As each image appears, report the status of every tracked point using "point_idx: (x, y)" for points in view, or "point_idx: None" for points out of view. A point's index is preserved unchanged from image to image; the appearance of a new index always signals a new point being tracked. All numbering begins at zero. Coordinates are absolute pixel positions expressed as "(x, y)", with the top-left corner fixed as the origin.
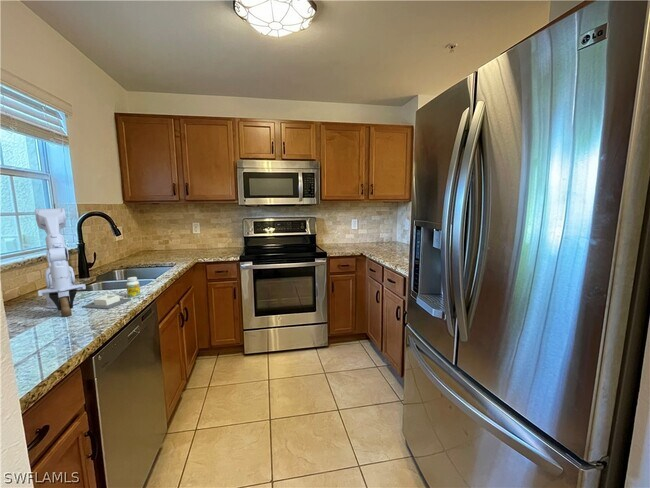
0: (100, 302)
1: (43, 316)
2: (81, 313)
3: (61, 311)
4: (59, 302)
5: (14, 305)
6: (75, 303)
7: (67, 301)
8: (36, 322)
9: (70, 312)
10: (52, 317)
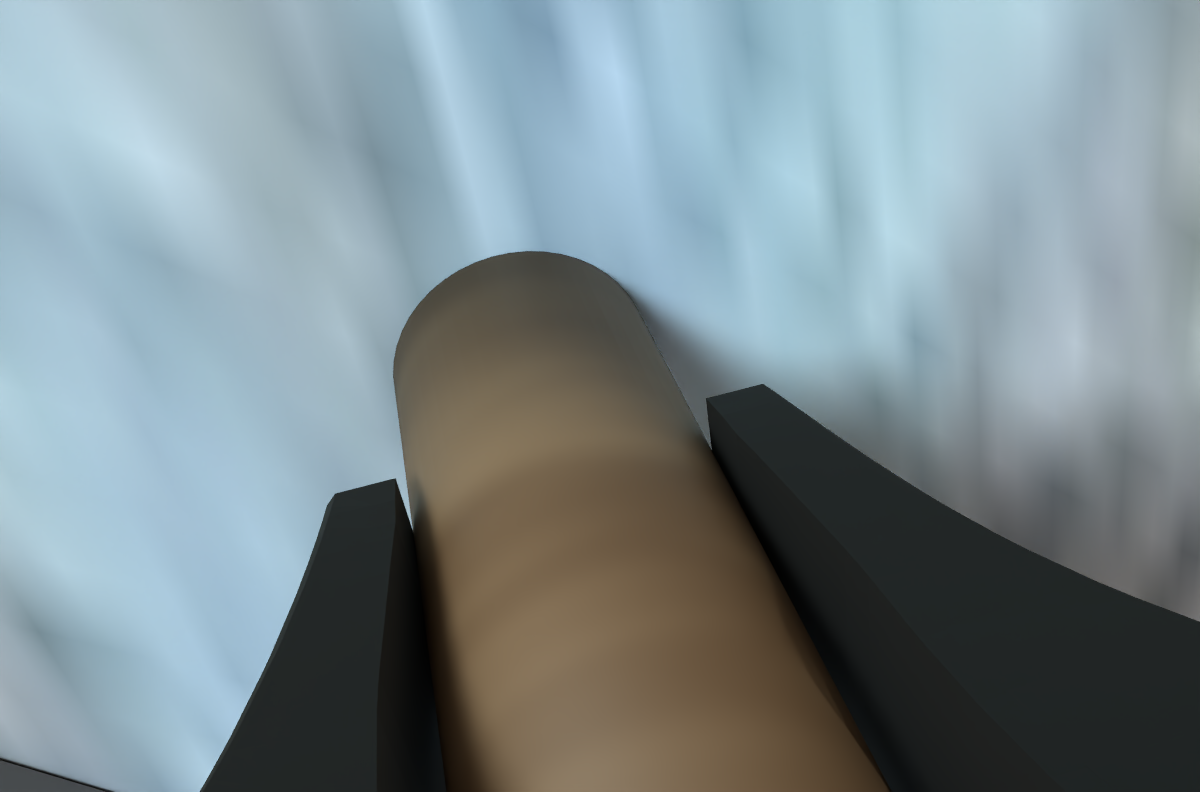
0: None
1: (1042, 542)
2: (116, 411)
3: (673, 390)
4: (837, 694)
5: None
6: None
7: (503, 702)
8: (1194, 122)
9: (409, 394)
10: (863, 383)
